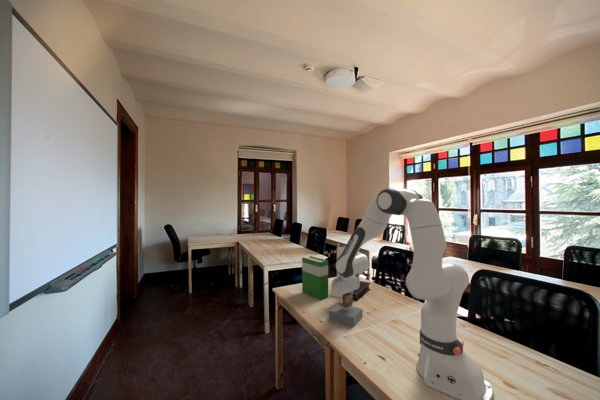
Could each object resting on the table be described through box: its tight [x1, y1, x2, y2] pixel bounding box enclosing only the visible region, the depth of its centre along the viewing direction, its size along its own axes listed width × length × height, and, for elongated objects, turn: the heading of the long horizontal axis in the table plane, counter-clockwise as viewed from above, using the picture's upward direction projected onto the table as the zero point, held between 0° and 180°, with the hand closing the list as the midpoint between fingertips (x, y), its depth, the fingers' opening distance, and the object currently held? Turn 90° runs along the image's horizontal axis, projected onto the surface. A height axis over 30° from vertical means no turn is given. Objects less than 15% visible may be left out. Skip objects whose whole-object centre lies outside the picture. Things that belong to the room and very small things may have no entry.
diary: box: [352, 280, 372, 302], centre depth 165 cm, size 19×25×5 cm
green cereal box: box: [301, 255, 329, 301], centre depth 160 cm, size 18×7×24 cm, turn 39°
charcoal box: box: [328, 302, 363, 328], centre depth 128 cm, size 14×12×5 cm
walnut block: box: [338, 293, 353, 308], centre depth 128 cm, size 5×5×6 cm
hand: (345, 300), depth 128 cm, fingers closed on walnut block, 5 cm apart
